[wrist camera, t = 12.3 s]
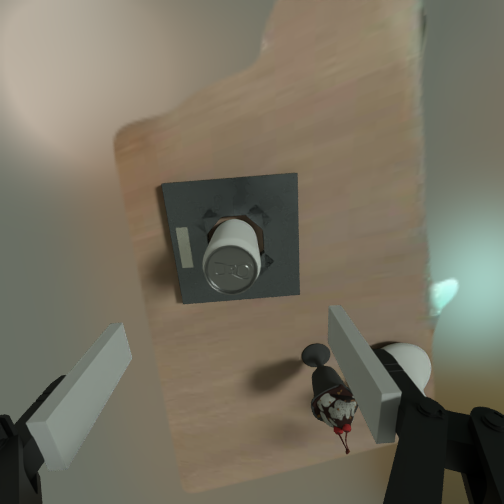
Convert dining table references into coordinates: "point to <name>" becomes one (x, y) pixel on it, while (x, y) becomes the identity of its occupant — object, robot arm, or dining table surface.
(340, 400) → the sundae
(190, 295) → the socket plate
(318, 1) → the dining table surface
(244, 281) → the can
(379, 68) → the dining table surface
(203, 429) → the dining table surface
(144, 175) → the dining table surface
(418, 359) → the flower in vase
